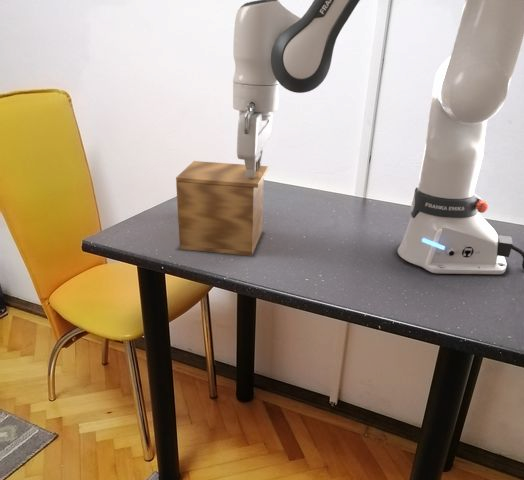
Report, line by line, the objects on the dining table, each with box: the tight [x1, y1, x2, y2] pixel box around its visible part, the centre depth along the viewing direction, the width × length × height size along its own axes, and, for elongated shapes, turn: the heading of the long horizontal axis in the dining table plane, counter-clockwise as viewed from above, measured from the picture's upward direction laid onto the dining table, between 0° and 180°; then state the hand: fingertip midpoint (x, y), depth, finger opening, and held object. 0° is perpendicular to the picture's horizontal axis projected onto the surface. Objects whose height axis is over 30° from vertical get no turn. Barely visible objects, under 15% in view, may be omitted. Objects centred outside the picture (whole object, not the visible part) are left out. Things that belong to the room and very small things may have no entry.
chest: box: [175, 177, 265, 257], centre depth 115 cm, size 16×14×14 cm
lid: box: [175, 152, 269, 188], centre depth 110 cm, size 17×14×5 cm
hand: (253, 172), depth 110 cm, fingers closed on lid, 6 cm apart
